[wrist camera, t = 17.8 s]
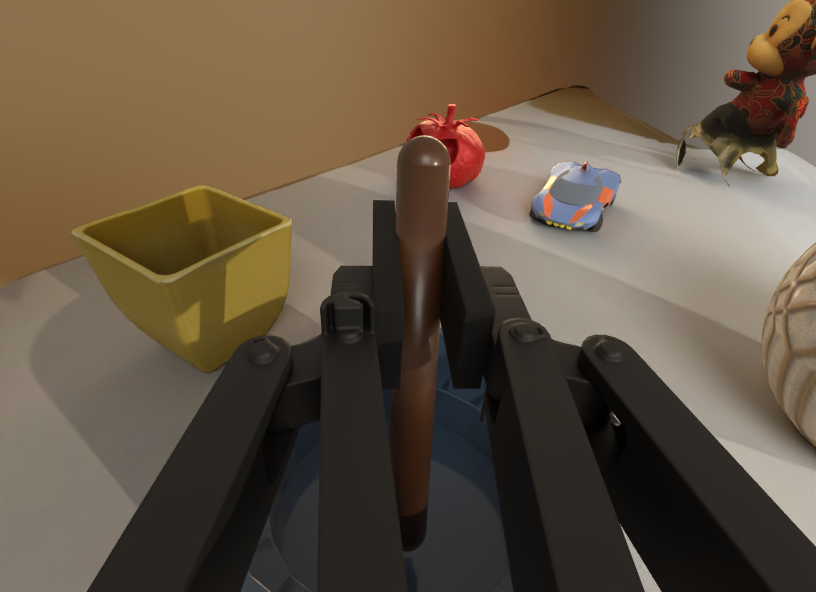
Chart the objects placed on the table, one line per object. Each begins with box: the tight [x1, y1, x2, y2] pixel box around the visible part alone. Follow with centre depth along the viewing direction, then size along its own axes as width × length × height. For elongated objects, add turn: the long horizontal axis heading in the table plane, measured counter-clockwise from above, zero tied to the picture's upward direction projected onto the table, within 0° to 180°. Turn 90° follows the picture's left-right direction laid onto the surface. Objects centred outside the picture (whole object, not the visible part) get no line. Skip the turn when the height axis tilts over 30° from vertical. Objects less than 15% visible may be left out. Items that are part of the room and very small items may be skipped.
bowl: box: [241, 327, 513, 592], centre depth 20 cm, size 15×15×6 cm
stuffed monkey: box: [677, 0, 816, 187], centre depth 58 cm, size 15×17×25 cm
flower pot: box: [71, 185, 292, 373], centre depth 29 cm, size 9×9×9 cm
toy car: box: [530, 161, 621, 232], centre depth 52 cm, size 8×15×5 cm, turn 151°
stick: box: [390, 136, 450, 552], centre depth 16 cm, size 2×2×16 cm
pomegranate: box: [407, 104, 485, 188], centre depth 57 cm, size 10×10×9 cm
